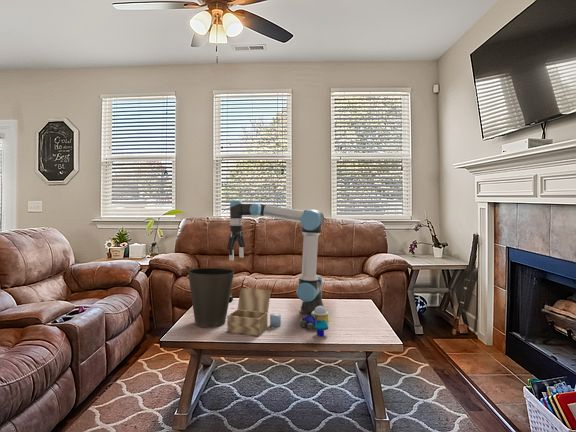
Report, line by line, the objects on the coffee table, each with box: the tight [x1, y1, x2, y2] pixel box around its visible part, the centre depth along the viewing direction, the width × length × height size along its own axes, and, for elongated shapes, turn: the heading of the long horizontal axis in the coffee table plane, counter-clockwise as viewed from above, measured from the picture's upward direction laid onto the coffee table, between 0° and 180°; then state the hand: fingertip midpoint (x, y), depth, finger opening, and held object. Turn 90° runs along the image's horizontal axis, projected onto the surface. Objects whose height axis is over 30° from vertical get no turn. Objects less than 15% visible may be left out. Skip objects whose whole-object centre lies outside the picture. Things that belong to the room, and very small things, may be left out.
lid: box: [236, 287, 272, 313], centre depth 203 cm, size 18×12×1 cm
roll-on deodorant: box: [269, 313, 282, 328], centre depth 204 cm, size 6×6×6 cm
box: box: [226, 310, 269, 338], centre depth 195 cm, size 18×12×9 cm, turn 72°
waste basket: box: [187, 267, 235, 329], centre depth 207 cm, size 27×20×30 cm
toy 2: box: [312, 306, 329, 337], centre depth 190 cm, size 8×9×15 cm
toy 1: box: [299, 313, 329, 331], centre depth 204 cm, size 14×7×15 cm
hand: (236, 258), depth 230 cm, fingers open, 13 cm apart
